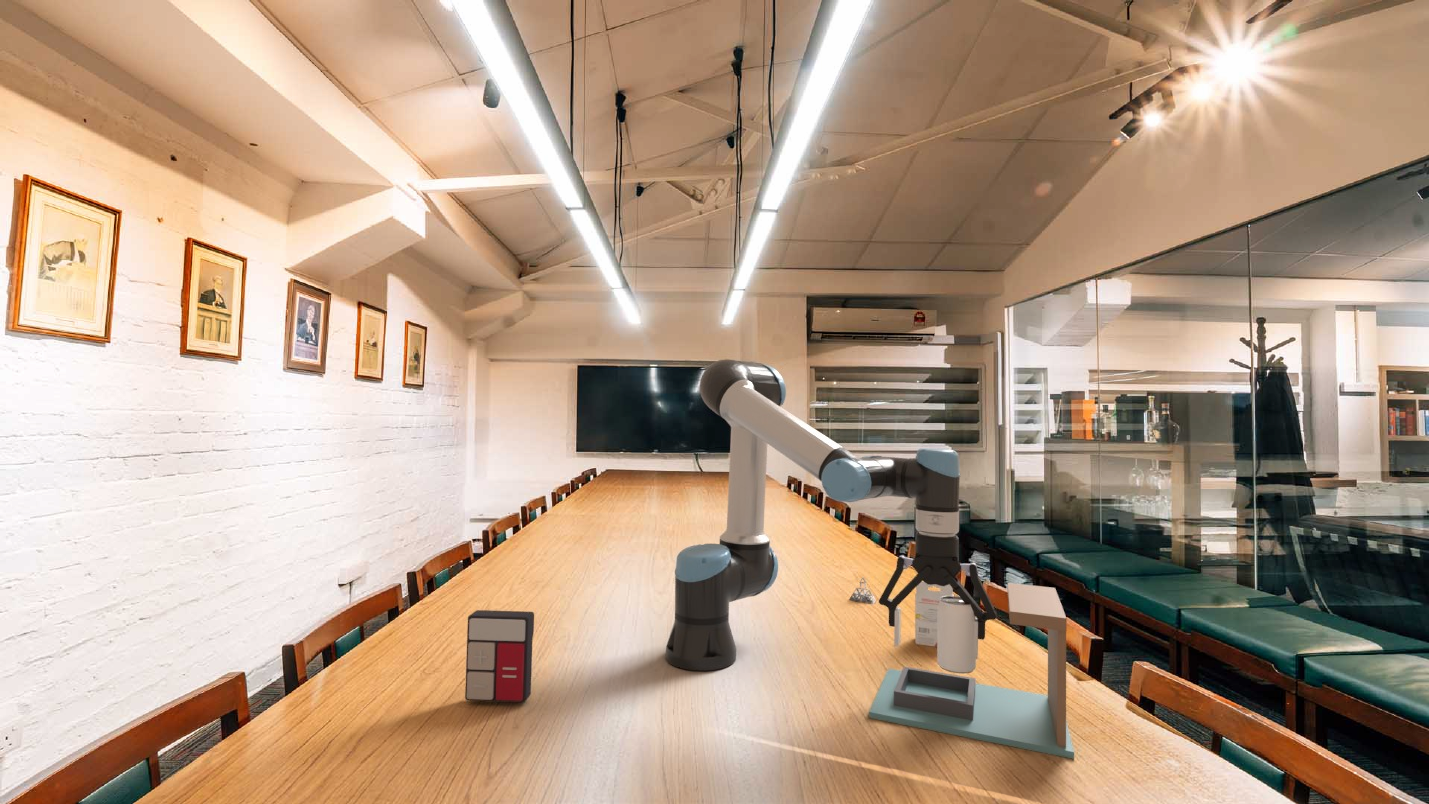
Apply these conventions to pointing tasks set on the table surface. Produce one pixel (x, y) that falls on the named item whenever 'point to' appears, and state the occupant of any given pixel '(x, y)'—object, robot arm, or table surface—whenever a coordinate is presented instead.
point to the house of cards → (861, 599)
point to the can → (955, 635)
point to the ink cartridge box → (928, 612)
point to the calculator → (499, 656)
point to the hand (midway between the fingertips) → (935, 650)
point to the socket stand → (990, 690)
